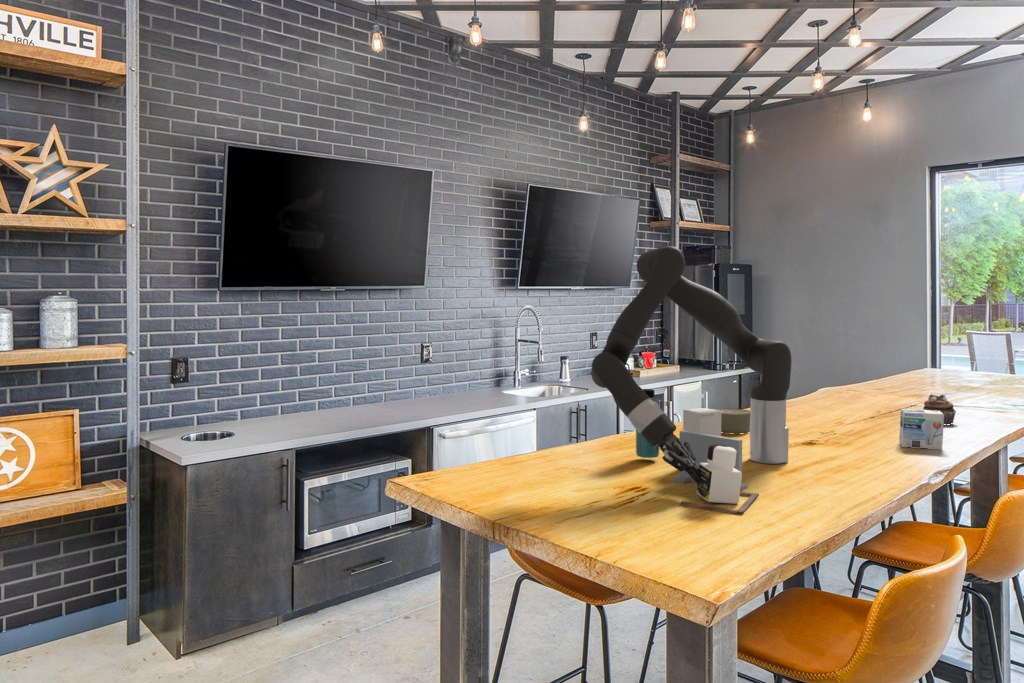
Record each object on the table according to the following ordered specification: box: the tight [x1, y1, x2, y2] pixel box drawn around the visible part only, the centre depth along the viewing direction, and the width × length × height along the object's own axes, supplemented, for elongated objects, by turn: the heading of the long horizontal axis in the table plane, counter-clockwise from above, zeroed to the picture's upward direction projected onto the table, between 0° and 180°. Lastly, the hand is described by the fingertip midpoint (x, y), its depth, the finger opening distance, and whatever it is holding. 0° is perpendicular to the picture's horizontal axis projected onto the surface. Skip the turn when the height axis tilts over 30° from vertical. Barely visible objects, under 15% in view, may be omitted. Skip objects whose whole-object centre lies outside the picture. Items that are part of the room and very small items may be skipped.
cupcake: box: [922, 394, 957, 424], centre depth 240 cm, size 10×10×10 cm
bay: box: [679, 490, 760, 516], centre depth 152 cm, size 13×15×1 cm
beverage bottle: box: [635, 388, 661, 459], centre depth 189 cm, size 6×7×20 cm
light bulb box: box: [898, 408, 944, 450], centre depth 204 cm, size 11×7×11 cm, turn 68°
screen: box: [672, 429, 748, 491], centre depth 165 cm, size 16×7×12 cm, turn 43°
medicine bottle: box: [696, 444, 743, 505], centre depth 152 cm, size 7×7×12 cm
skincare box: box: [682, 407, 722, 436], centre depth 181 cm, size 8×7×16 cm
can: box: [714, 408, 750, 434], centre depth 229 cm, size 12×12×7 cm
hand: (702, 481), depth 154 cm, fingers closed
